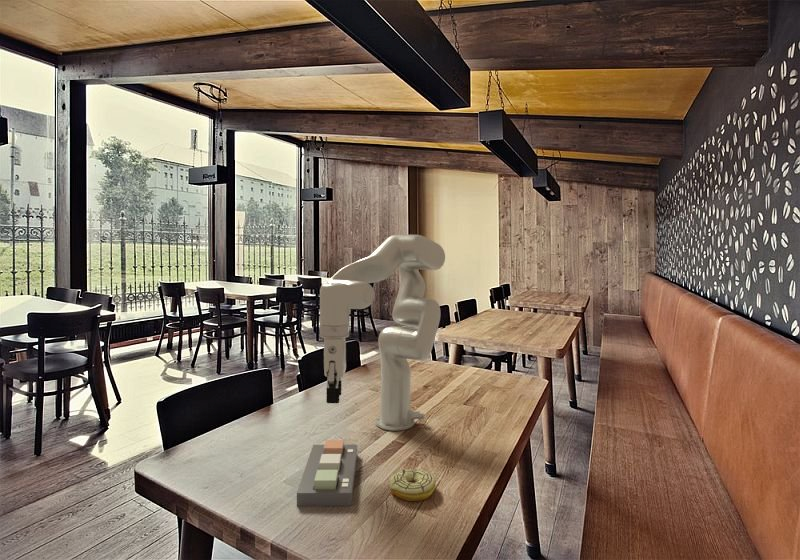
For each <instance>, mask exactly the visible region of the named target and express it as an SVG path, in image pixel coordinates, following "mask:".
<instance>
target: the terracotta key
mask: <svg viewBox="0 0 800 560" xmlns="http://www.w3.org/2000/svg"><path fill="white" fill-rule="evenodd" d="M344 442H345V440H344V439H326V440H325V442H324V444H323V445H324V454H341V456H343V452H344V445H345V444H344Z"/></svg>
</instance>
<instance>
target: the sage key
mask: <svg viewBox="0 0 800 560" xmlns="http://www.w3.org/2000/svg"><path fill="white" fill-rule="evenodd" d="M337 484H338V470H317V473H316V476H315V480H314V490H336V489H337Z"/></svg>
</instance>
